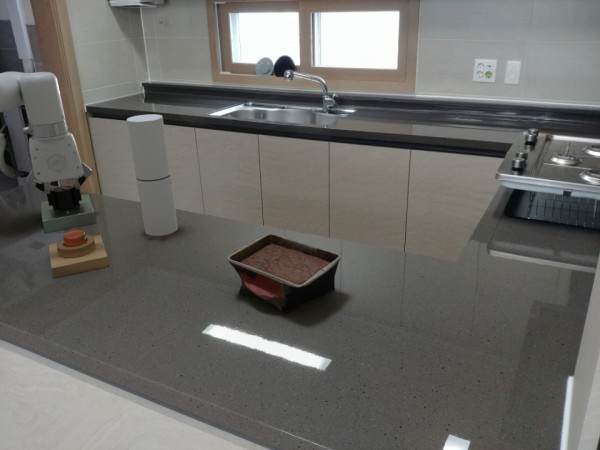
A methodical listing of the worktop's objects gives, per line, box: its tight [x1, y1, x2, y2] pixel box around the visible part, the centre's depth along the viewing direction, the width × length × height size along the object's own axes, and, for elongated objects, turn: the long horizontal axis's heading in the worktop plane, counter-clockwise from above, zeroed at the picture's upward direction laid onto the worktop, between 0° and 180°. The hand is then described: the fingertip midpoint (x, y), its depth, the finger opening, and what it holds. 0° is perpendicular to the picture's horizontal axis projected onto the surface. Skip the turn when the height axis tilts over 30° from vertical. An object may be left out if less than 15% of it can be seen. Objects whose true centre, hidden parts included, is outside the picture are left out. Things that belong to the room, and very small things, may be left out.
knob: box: [52, 185, 76, 210], centre depth 126 cm, size 4×4×5 cm
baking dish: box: [226, 233, 342, 315], centre depth 91 cm, size 14×18×10 cm
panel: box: [40, 193, 97, 234], centre depth 128 cm, size 14×11×3 cm
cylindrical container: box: [126, 113, 179, 237], centre depth 115 cm, size 7×7×25 cm
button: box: [62, 229, 86, 247], centre depth 105 cm, size 4×4×2 cm
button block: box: [48, 233, 110, 279], centre depth 106 cm, size 12×10×4 cm
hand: (66, 205), depth 127 cm, fingers closed on knob, 4 cm apart
